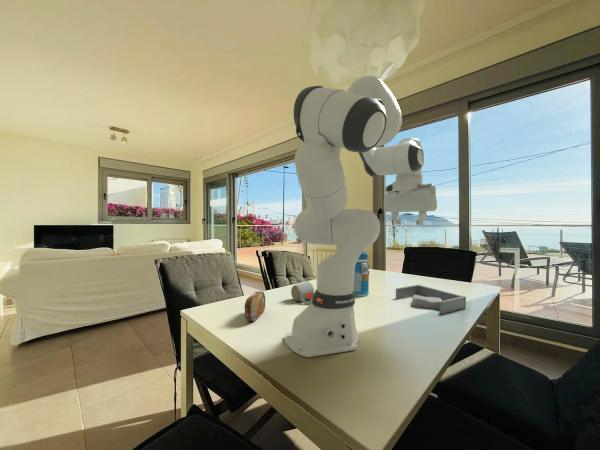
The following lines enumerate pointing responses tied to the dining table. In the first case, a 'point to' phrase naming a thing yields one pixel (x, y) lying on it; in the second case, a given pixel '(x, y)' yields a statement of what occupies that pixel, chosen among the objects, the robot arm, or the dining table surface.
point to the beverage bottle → (361, 276)
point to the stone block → (426, 302)
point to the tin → (254, 306)
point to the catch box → (448, 299)
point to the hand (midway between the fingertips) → (408, 224)
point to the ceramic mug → (302, 292)
